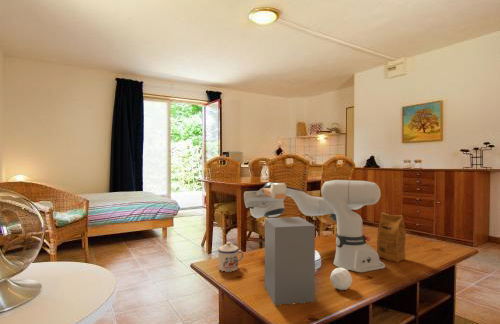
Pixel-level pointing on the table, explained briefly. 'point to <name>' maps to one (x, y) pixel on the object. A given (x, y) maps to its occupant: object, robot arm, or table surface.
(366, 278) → the table surface
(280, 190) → the wooden handled brush
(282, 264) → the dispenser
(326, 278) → the table surface
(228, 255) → the teacup with lid
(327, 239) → the table surface
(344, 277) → the geometric ball
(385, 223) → the coffee package
